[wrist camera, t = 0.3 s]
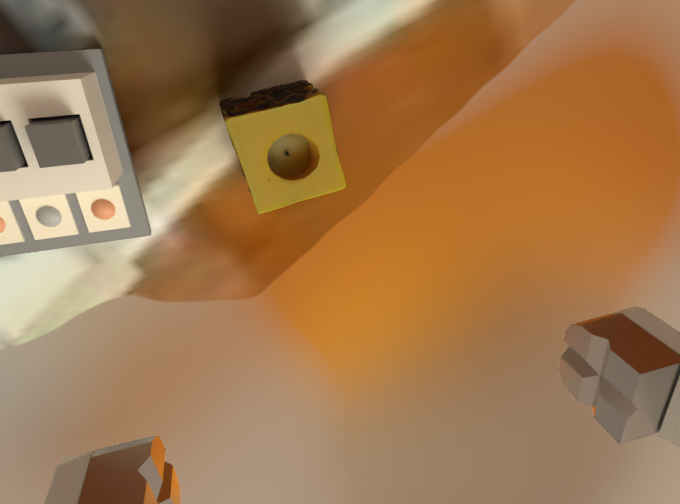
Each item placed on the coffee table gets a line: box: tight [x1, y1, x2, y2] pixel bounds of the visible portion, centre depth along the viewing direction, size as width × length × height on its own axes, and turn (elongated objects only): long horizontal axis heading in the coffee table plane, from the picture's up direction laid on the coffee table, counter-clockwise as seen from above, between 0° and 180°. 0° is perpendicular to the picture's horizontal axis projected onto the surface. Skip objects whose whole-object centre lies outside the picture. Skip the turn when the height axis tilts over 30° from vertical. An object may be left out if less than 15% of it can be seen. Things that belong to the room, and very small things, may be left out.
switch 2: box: [25, 114, 92, 168], centre depth 42 cm, size 4×4×6 cm
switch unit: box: [0, 48, 151, 257], centre depth 44 cm, size 20×19×7 cm
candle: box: [220, 80, 346, 214], centre depth 48 cm, size 10×10×10 cm
